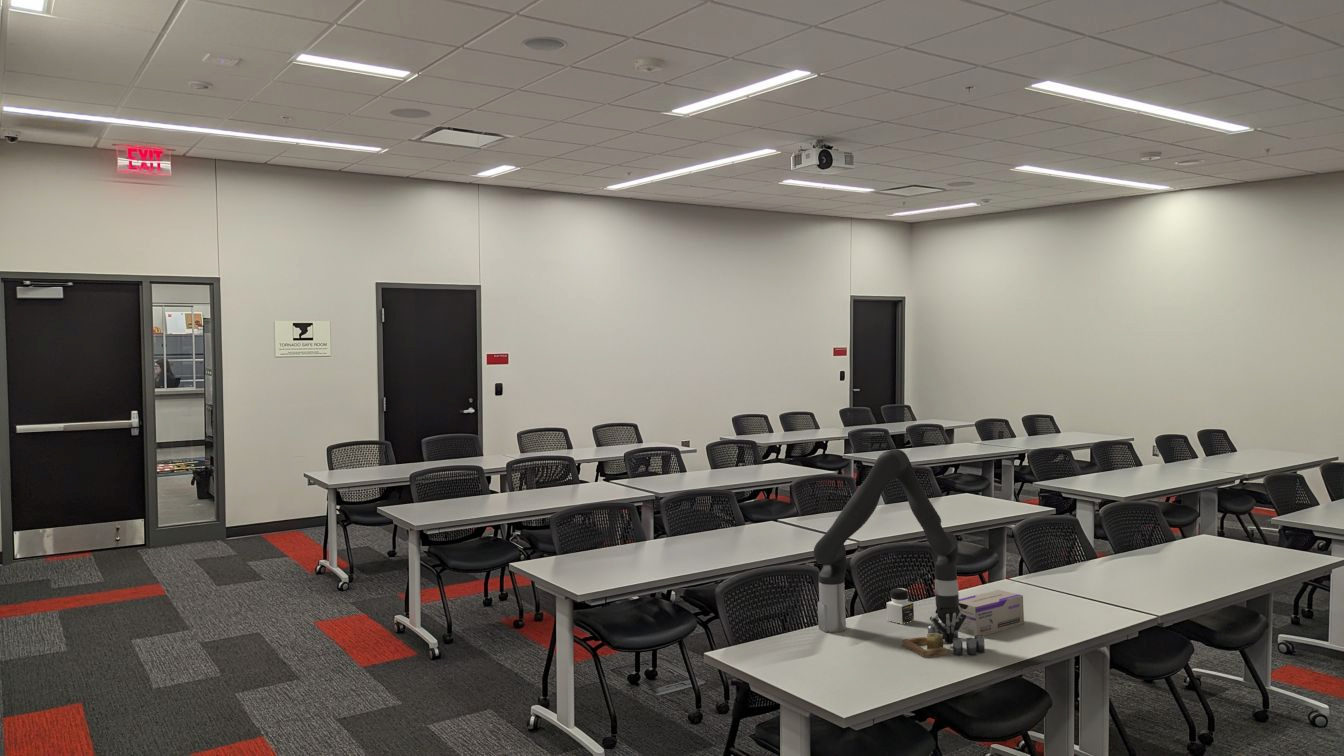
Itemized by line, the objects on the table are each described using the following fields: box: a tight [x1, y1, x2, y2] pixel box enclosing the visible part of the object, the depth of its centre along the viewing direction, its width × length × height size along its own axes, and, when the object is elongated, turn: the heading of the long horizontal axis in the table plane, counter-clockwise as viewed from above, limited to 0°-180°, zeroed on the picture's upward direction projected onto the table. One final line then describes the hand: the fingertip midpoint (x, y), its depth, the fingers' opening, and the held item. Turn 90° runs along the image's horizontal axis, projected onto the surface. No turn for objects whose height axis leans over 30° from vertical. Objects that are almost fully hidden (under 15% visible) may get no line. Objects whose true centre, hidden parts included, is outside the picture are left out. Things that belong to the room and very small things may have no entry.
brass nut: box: [926, 633, 944, 649], centre depth 295 cm, size 6×5×4 cm
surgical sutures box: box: [955, 589, 1025, 637], centre depth 317 cm, size 25×11×11 cm, turn 121°
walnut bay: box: [901, 636, 948, 659], centre depth 295 cm, size 8×14×2 cm, turn 13°
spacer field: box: [927, 622, 986, 657], centre depth 297 cm, size 11×22×5 cm, turn 13°
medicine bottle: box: [886, 587, 915, 625], centre depth 329 cm, size 7×7×12 cm
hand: (949, 643), depth 297 cm, fingers closed
